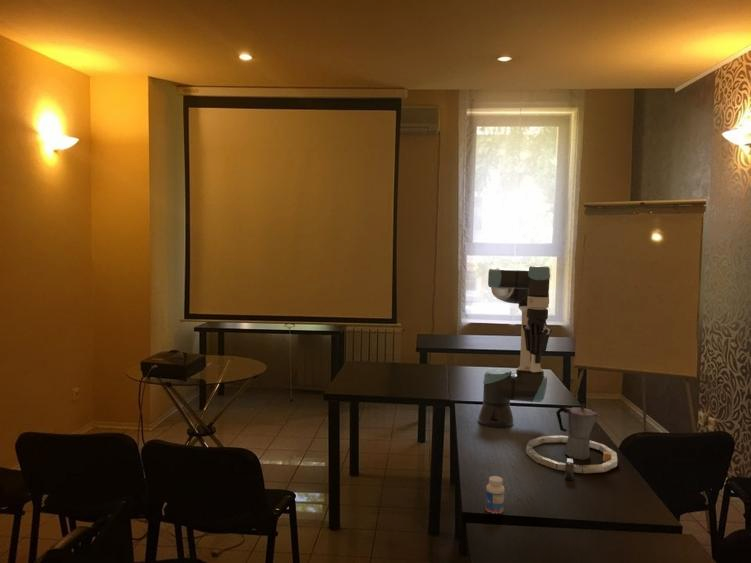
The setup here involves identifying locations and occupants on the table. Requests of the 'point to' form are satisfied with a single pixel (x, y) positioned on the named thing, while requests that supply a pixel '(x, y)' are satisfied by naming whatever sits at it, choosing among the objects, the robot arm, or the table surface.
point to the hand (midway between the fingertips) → (534, 371)
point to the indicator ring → (569, 467)
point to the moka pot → (578, 430)
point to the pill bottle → (495, 495)
